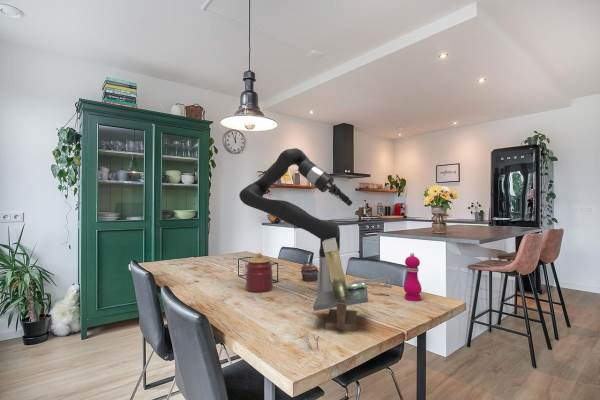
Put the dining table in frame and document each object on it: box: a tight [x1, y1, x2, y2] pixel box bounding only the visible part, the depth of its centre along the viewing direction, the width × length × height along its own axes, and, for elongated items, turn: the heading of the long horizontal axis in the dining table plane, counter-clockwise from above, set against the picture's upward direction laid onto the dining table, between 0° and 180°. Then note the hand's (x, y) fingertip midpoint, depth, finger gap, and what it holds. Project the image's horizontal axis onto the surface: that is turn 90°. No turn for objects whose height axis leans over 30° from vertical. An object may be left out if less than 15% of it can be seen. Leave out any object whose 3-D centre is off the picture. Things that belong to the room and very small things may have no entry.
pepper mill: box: [403, 252, 423, 302], centre depth 135 cm, size 7×7×20 cm
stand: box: [325, 302, 358, 332], centre depth 109 cm, size 10×20×10 cm, turn 169°
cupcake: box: [300, 261, 319, 283], centre depth 170 cm, size 10×10×10 cm
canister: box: [245, 252, 274, 293], centre depth 153 cm, size 13×13×18 cm
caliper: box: [351, 274, 392, 288], centre depth 159 cm, size 20×1×6 cm, turn 59°
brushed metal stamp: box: [312, 238, 369, 312], centre depth 110 cm, size 18×16×21 cm
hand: (349, 202), depth 125 cm, fingers open, 8 cm apart
